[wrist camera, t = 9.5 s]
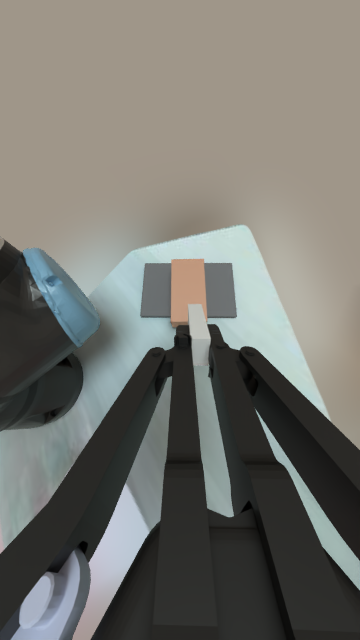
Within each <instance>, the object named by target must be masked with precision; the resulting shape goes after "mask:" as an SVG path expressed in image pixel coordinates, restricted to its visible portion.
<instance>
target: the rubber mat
mask: <svg viewBox="0 0 360 640" xmlns="http://www.w3.org/2000/svg"><path fill="white" fill-rule="evenodd" d="M204 271H205V289H206V307H207V318H235V317H237V314H236V303H235V292H234V281H233V270H232V263H204ZM140 316H141V317H171V263H146V264H145V269H144V280H143V292H142V303H141V314H140Z"/></svg>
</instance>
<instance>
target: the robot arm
mask: <svg viewBox="0 0 360 640" xmlns="http://www.w3.org/2000/svg"><path fill="white" fill-rule="evenodd" d="M99 326H100V318H99V315H98V313H97V311H96V310H95V308H94V307H93V305H92V304H91V302H90V301H89V300H88V298H87V297H86V296H85V294H84V293H83V292H82V291H81V289H80V288H79V287H78V286H77V284H76V283H75V282H74V281H73V280H72V279H71V278H70V276H69V275H68V274H67V273H66V272H65V271H64V270H63V269H62V268H61V267H60V266H59V265H58V264H57V263H56V262H55V261H54V260H53V259H52V258H51V257H49V256H48V255H47V254H46V253H45V252H44V251H43V250H41V249H39V248H31V249H28V248H27V249H25V250H23V253H22V252H20V251H19V250H17V249H16V248H15V247H13V246H12V245H11V244H9V243H8V242H7V241H5V240H4V239H3V238H1V237H0V431H2V430H11V429H28V428H36V427H40V426H43V425H46V424H48V423H50V422H52V421H55V420H57V419H58V418H60V417H62V416H63V415H64V414H65V413H66V412H68V411H69V409H70V408H71V407H72V406H73V405H74V403H75V402H76V400H77V398H78V396H79V394H80V391H81V388H82V382H83V372H82V368H81V365H80V362H79V361H78V359H77V358H76V357H75V355H73V354H72V352H73V351H74V350H75V349H77V348H78V347H81V346H82V345H83V342H85V341H86V340H87V339H88V338H89V337H90V336H91V335H93V334H94V333H95V332H96V331H97V330H98V328H99ZM208 362H209V375H208V377H210V378H211V383H212V389H213V394H214V399H215V404H216V410H217V415H218V420H219V425H220V430H221V436H222V441H223V446H224V451H225V457H226V462H227V467H228V472H229V477H230V484H231V499H232V506H233V512H234V516H233V517H226V516H223V515H221V514H219V513H216V512H214V511H212V510H209V509H207V503H206V492H205V481H204V471H203V464H202V460H201V451H200V439H199V428H198V416H197V404H196V392H195V380H194V368H193V366H208ZM170 376H172V390H171V404H170V418H169V433H168V447H167V459H166V463H165V470H164V482H163V495H162V508H161V521H159V522H158V523H157V524H156V526H155V527H154V528H153V529H152V530H151V532H150V533H149V534H148V536H147V538H146V539H145V541H144V543H143V544H142V546H141V548H140V550H139V551H138V553H137V555H136V557H135V559H134V561H133V563H132V565H131V566H130V568H129V570H128V572H127V574H126V575H125V577H124V579H123V581H122V583H121V585H120V587H119V589H118V590H117V592H116V594H115V596H114V598H113V600H112V601H111V603H110V605H109V607H108V609H107V611H106V612H105V614H104V616H103V618H102V620H101V622H100V624H99V626H98V627H97V629H96V631H95V633H94V635H93V636H92V638H91V640H360V590H359V589H358V588H357V587H356V586H355V584H354V583H353V582H352V581H351V580H350V579H349V577H348V576H347V575H346V574H345V573H344V572H343V570H342V569H341V568H340V567H339V566H338V565H337V563H336V562H335V561H334V560H333V559H332V557H331V556H330V555H329V554H328V553H327V552H326V550H325V549H324V548H323V547H322V545H321V543H320V541H319V538H318V536H317V534H316V532H315V529H314V527H313V525H312V523H311V520H310V518H309V516H308V514H307V512H306V509H305V507H304V505H303V503H302V500H301V498H300V496H299V494H298V491H297V489H296V487H295V485H294V482H293V480H292V478H291V476H290V474H289V472H288V471H287V469H286V468H285V467H284V465H282V464H281V463H279V462H278V461H277V459H276V458H275V456H274V454H273V451H272V449H271V446H270V444H269V442H268V439H267V437H266V434H265V432H264V430H263V427H262V425H261V422H260V420H259V417H258V415H257V413H256V410H257V412H258V413H259V415H260V416H261V418H262V419H263V421H264V422H265V424H266V425H267V427H268V428H269V430H270V431H271V433H272V434H273V436H274V437H275V439H276V440H277V442H278V443H279V445H280V446H281V448H282V449H283V451H284V452H285V454H286V455H287V457H288V458H289V460H290V461H291V463H292V464H293V466H294V467H295V469H296V470H297V472H298V473H299V475H300V476H301V478H302V480H303V481H304V483H305V484H306V486H307V487H308V489H309V490H310V492H311V493H312V495H313V496H314V498H315V499H316V501H317V502H318V504H319V505H320V507H321V508H322V510H323V511H324V513H325V514H326V516H327V517H328V519H329V520H330V521H331V523H332V524H333V526H334V527H335V529H336V530H337V531H338V533H339V534H340V536H341V537H342V539H343V540H344V541H345V542H346V544H347V545H348V546H349V548H350V549H351V550H352V551H353V553H354V554H355V555H356V557H357V558H358V559H359V560H360V450H359V449H358V448H357V447H356V446H355V445H354V444H353V443H352V442H351V441H350V440H349V439H348V438H347V437H345V435H344V434H343V433H342V432H340V431H339V429H338V428H337V427H335V426H334V425H333V424H332V423H331V422H330V421H329V420H328V419H327V418H326V417H325V416H324V415H323V414H322V413H321V412H320V411H319V410H318V409H317V408H316V407H315V406H314V405H313V404H312V403H311V402H310V401H309V400H308V399H307V398H306V397H305V396H304V395H303V394H302V393H301V392H300V391H299V390H298V389H297V388H296V387H295V386H294V385H292V384H291V383H290V382H289V381H288V380H287V379H286V378H285V377H284V376H283V375H282V374H281V373H280V372H279V371H278V370H277V369H276V368H275V367H274V366H273V365H272V364H271V363H270V362H269V361H268V360H267V359H266V358H265V357H264V356H263V355H262V354H261V353H260V352H259V351H258V350H256V349H255V348H252V347H248V346H245V347H242V348H241V349H240V350H235V349H232V348H230V347H229V346H228V344H227V343H225V342H224V340H223V337H222V335H221V332H220V330H219V327H218V326H217V325H215V324H207V323H206V319H205V315H204V312H203V308H202V304H188V325H178V326H177V328H176V335H175V337H174V347H173V348H172V349H169V350H166V351H165V350H164V349H163V348H160V347H155V348H152V349H150V350H149V351H148V352H147V354H146V355H145V357H144V358H143V360H142V361H141V363H140V364H139V366H138V367H137V369H136V370H135V372H134V373H133V375H132V377H131V378H130V380H129V381H128V383H127V384H126V386H125V387H124V389H123V390H122V392H121V393H120V395H119V396H118V398H117V399H116V401H115V402H114V404H113V405H112V407H111V408H110V410H109V411H108V413H107V414H106V416H105V417H104V419H103V420H102V422H101V424H100V425H99V427H98V428H97V430H96V431H95V433H94V434H93V436H92V437H91V439H90V440H89V442H88V443H87V445H86V446H85V448H84V449H83V451H82V452H81V454H80V455H79V457H78V458H77V460H76V461H75V463H74V464H73V466H72V467H71V469H70V470H69V472H68V474H67V475H66V477H65V478H64V480H63V481H62V483H61V484H60V486H59V487H58V489H57V490H56V492H55V493H54V495H53V496H52V498H51V499H50V501H49V502H48V504H47V505H46V506H45V507H44V508H43V509H42V510H41V511H40V512H39V513H38V514H37V515H36V516H35V517H34V519H33V520H32V521H31V522H30V523H29V524H28V525H27V526H26V527H25V528H24V529H23V530H22V531H21V532H20V534H19V535H18V536H17V537H16V538H15V539H14V540H13V541H12V542H11V543H10V544H9V545H8V546H7V547H6V548H5V550H4V551H3V552H2V553H1V554H0V640H72V637H73V634H74V632H75V630H76V627H77V625H78V622H79V620H80V617H81V615H82V613H83V610H84V608H85V605H86V601H87V598H88V594H89V589H90V581H91V579H90V568H89V564H88V563H89V561H90V559H91V558H92V556H93V554H94V552H95V550H96V548H97V546H98V544H99V543H100V540H101V539H102V537H103V535H104V533H105V530H106V528H107V526H108V524H109V521H110V519H111V517H112V515H113V512H114V510H115V507H116V505H117V502H118V500H119V497H120V495H121V492H122V490H123V487H124V485H125V482H126V480H127V477H128V475H129V472H130V470H131V467H132V465H133V462H134V460H135V457H136V455H137V453H138V450H139V448H140V445H141V443H142V440H143V438H144V435H145V433H146V430H147V428H148V425H149V423H150V420H151V418H152V415H153V413H154V410H155V408H156V405H157V403H158V400H159V398H160V395H161V393H162V390H163V388H164V385H165V383H166V380H167V377H170ZM254 407H255V408H254ZM255 409H256V410H255Z"/></svg>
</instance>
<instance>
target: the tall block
mask: <svg viewBox="0 0 360 640" xmlns="http://www.w3.org/2000/svg"><path fill="white" fill-rule="evenodd" d="M188 304H202V308H203V312H204V315H205V319H206V323H207V307H206V289H205V271H204V259H174V260H172V263H171V324H172V327H177V326H178V325H188Z"/></svg>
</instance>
